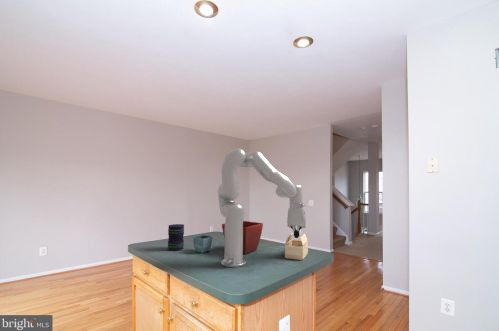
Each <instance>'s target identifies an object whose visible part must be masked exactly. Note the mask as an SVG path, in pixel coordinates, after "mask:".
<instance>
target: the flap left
mask: <svg viewBox="0 0 499 331" xmlns="http://www.w3.org/2000/svg"><path fill="white" fill-rule="evenodd" d="M293 237H294V232H292V233H291V234H289V235H288V236H287V237H286V239H285V243H284V245H286V244H287V243H288V242H289V241H290V240H293Z"/></svg>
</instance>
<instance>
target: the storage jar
mask: <svg viewBox="0 0 499 331" xmlns="http://www.w3.org/2000/svg"><path fill="white" fill-rule="evenodd" d="M167 229H168V230H167V235H168V239H167V250H168V251H169V252H179V251H183V250H184V245H185V240H184V235H185V234H184V233H185V224H182V223H181V224H179V223H178V224H177V223H176V224H175V223H173V224H169V225H168V228H167Z"/></svg>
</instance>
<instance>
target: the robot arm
mask: <svg viewBox="0 0 499 331" xmlns="http://www.w3.org/2000/svg"><path fill="white" fill-rule="evenodd" d="M239 167H240V168H253V169H254V170H255V171H256V173H258V174H259V175H260V176H261V177H262V178H263V179H264V180H265V181H267V182H269V183H272V184H274V185H276V186H277V187H276V188H275V194H276V196H277V197H280V198H283V199H289V207H288V210H287V216H286V217H287V220H286V223H287V225H286V227H287V228H291V230H292V231H293V237H294V238H295V239H299V237H300V230H302V229H305V228H306V223H307V222H306V211H305V208H304V207H306V204H305V203H303V186H302V185H300V184H294V183H293V182H292V181H291V180H290V179H289V178H288V177H287V176H286V175H284V174H283V173H281V172H280V171H279V170H278V169H276V168H275V167H274V166H273V165H272V164H271V163H270V161H268V159H267V158H266V157H265V156H264V154H262V152H260V151H257V150H256V151H251V152H245V151H244V150H243V149H242V148H235V149H232V150H231V151H228V152H227V153H226V154H225V157H224V161H223V162H222V165H221V182H222V183H221V184H220V185H219V186H218V188H217V197H218V204H219V210H220V213H221V216H222V217H223V218H225V221H224V224H225V238H224V252H223V255H224V256H223V257H224V258H223V259H221V261H220V263H221V265H222V266H224V267H227V268H239V267H242V266H245V265H246V262H247V261H246V259H244V258H243V257H244V256H243V221H244V218H245V210H244V209H245V208H244V207H243V205H242V204H240V203H239V202H237V201H236V199H237V198H238V197H239V195H240V186H239V185H240V183H239V176H238V175H239V174H238V171H239Z"/></svg>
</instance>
